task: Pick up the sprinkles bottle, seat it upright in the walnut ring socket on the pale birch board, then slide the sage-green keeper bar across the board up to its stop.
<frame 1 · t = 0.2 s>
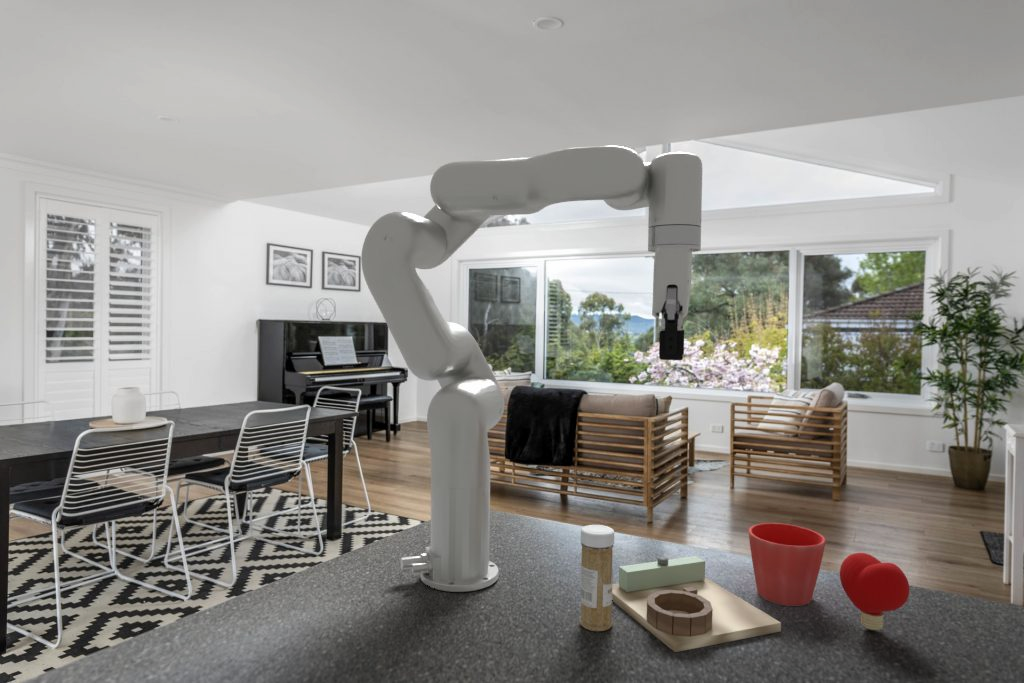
hand: (672, 357, 99), 37 cm above the counter, tool pointing down, fingers open, 9 cm apart
board: (686, 611, 97), on the counter
keeper bar: (662, 570, 104), point 3 cm above the counter, slide at 0.0 cm
flower pot: (784, 597, 103), on the counter
red heart figurine: (871, 632, 92), on the counter
sprinkles bottle: (595, 626, 92), on the counter
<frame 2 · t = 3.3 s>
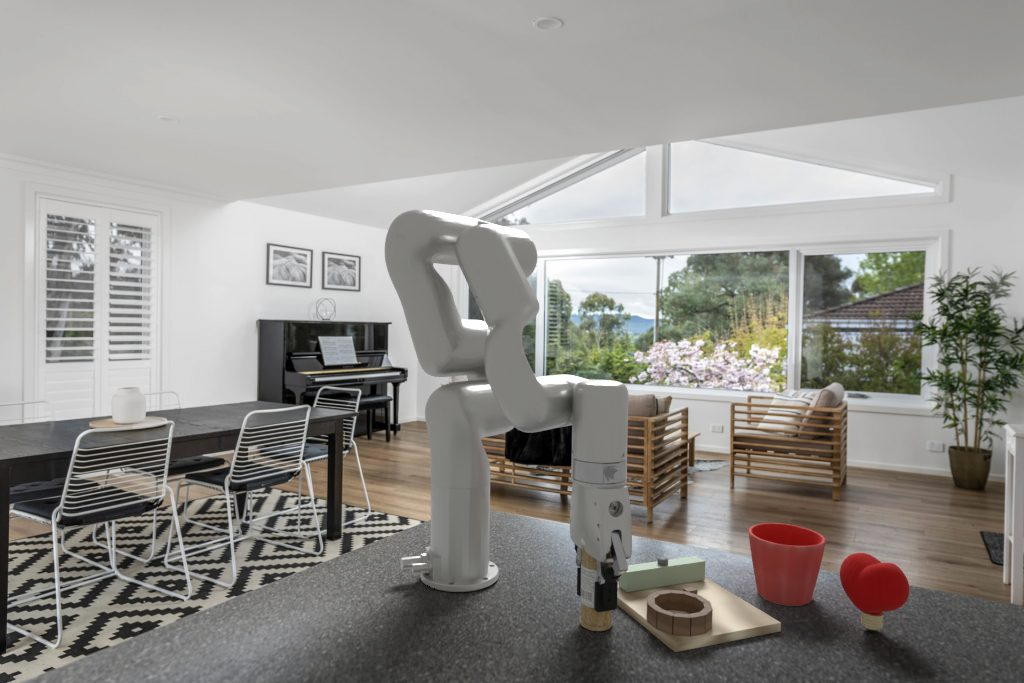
hand: (596, 600, 92), 3 cm above the counter, tool pointing down, fingers closed on sprinkles bottle, 4 cm apart
sprinkles bottle: (595, 626, 92), on the counter, touching gripper
everything else where it was.
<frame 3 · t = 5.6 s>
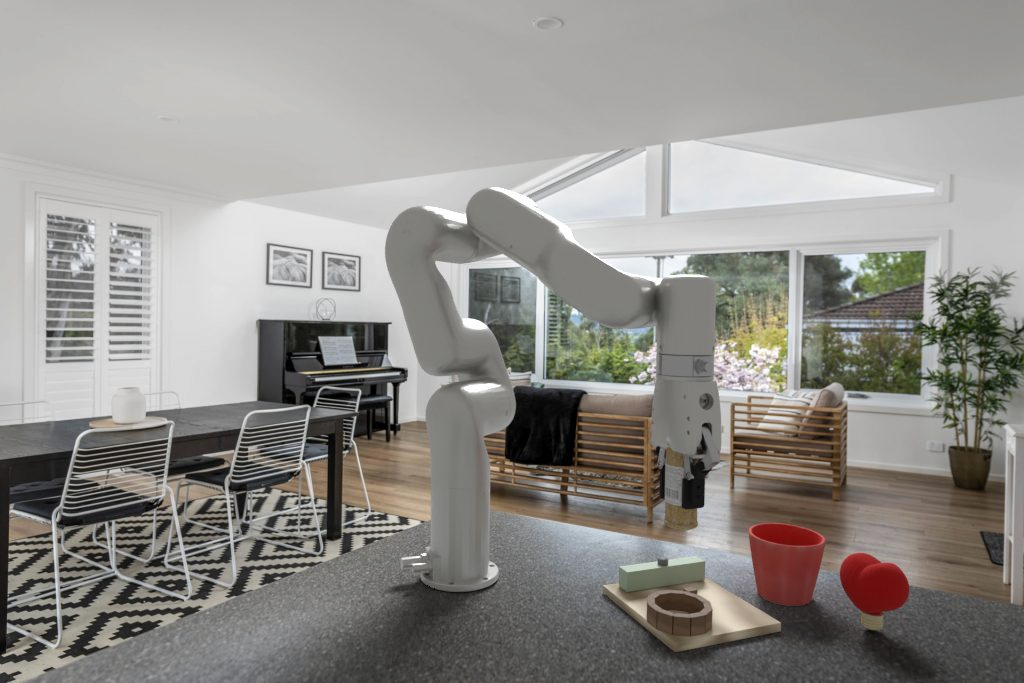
hand: (681, 501, 90), 18 cm above the counter, tool pointing down, fingers closed on sprinkles bottle, 4 cm apart
sprinkles bottle: (680, 527, 91), point 14 cm above the counter, touching gripper
everything else where it was.
when the fingers open (5 cm above the counter, at t = 8.1 s): sprinkles bottle stays where it is, resting on board.
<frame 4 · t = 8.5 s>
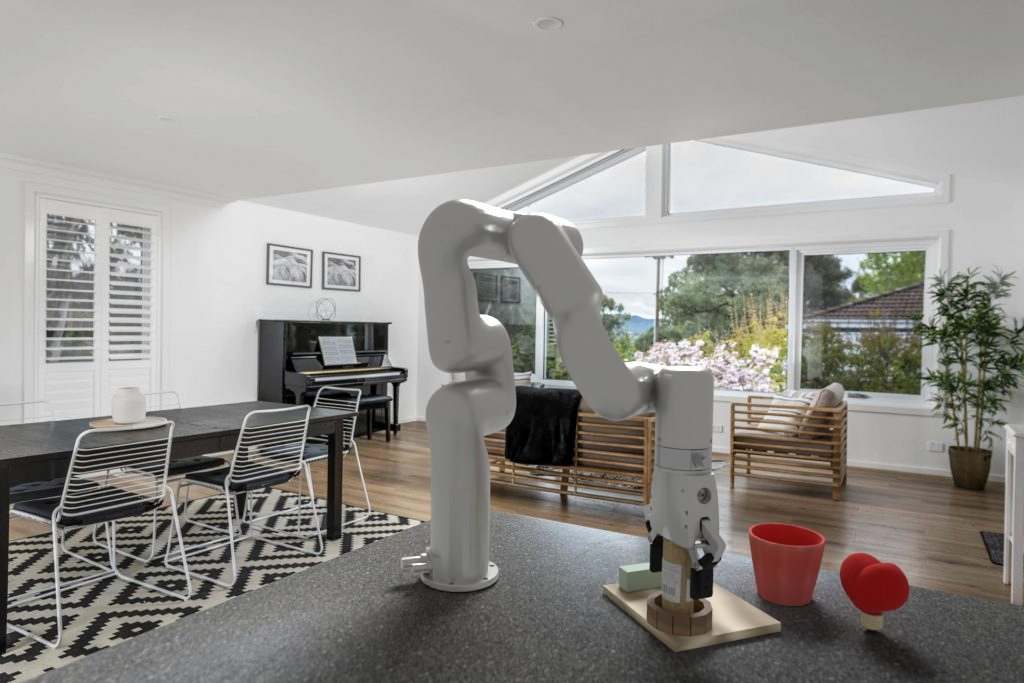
hand: (679, 583, 91), 6 cm above the counter, tool pointing down, fingers open, 9 cm apart
sprinkles bottle: (676, 621, 91), point 1 cm above the counter, touching board
everything else where it was.
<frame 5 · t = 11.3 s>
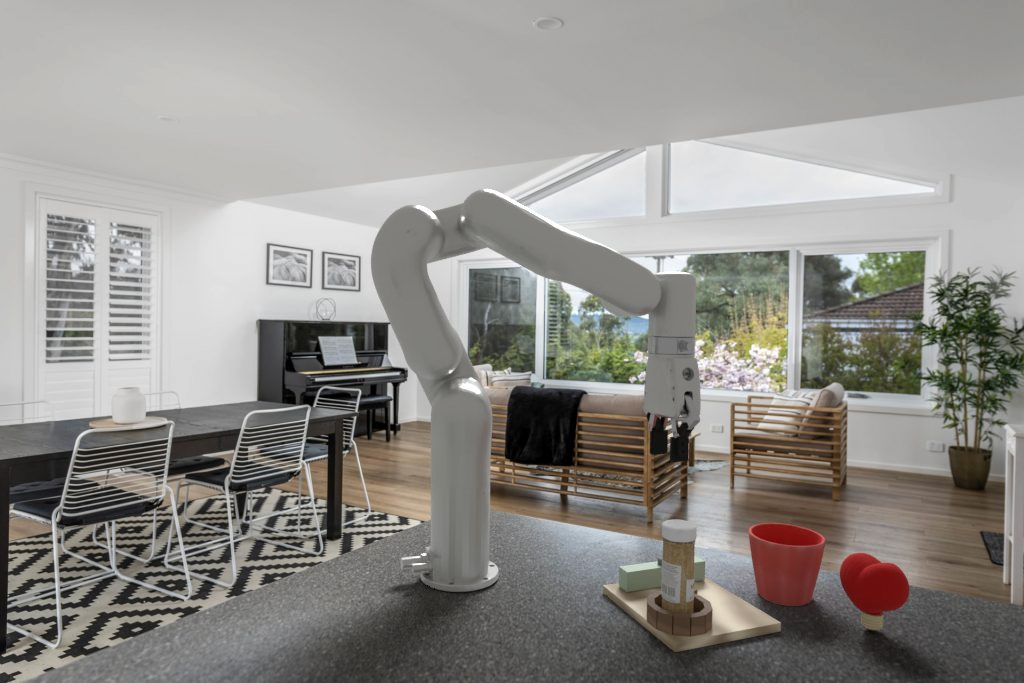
hand: (668, 456, 111), 19 cm above the counter, tool pointing down, fingers open, 5 cm apart
nothing on the counter moved.
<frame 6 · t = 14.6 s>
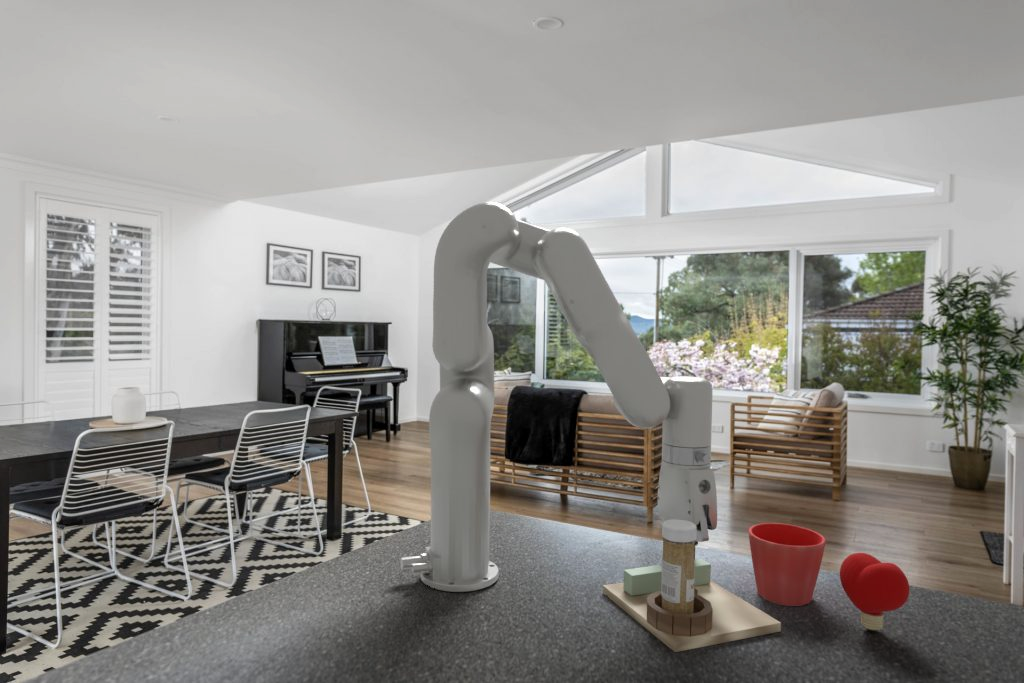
hand: (683, 568, 107), 2 cm above the counter, tool pointing down, fingers closed
keeper bar: (667, 574, 102), point 3 cm above the counter, slide at 1.4 cm, touching gripper
everything else where it was.
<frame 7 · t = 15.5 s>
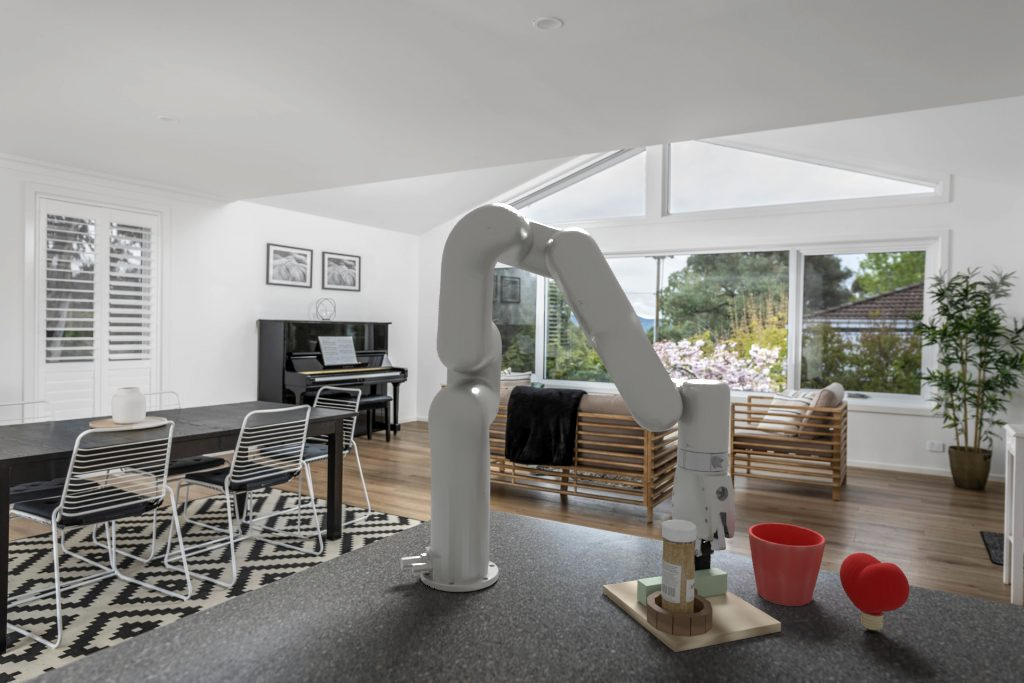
hand: (698, 577, 103), 2 cm above the counter, tool pointing down, fingers closed
keeper bar: (682, 583, 99), point 3 cm above the counter, slide at 5.3 cm, touching gripper
everything else where it was.
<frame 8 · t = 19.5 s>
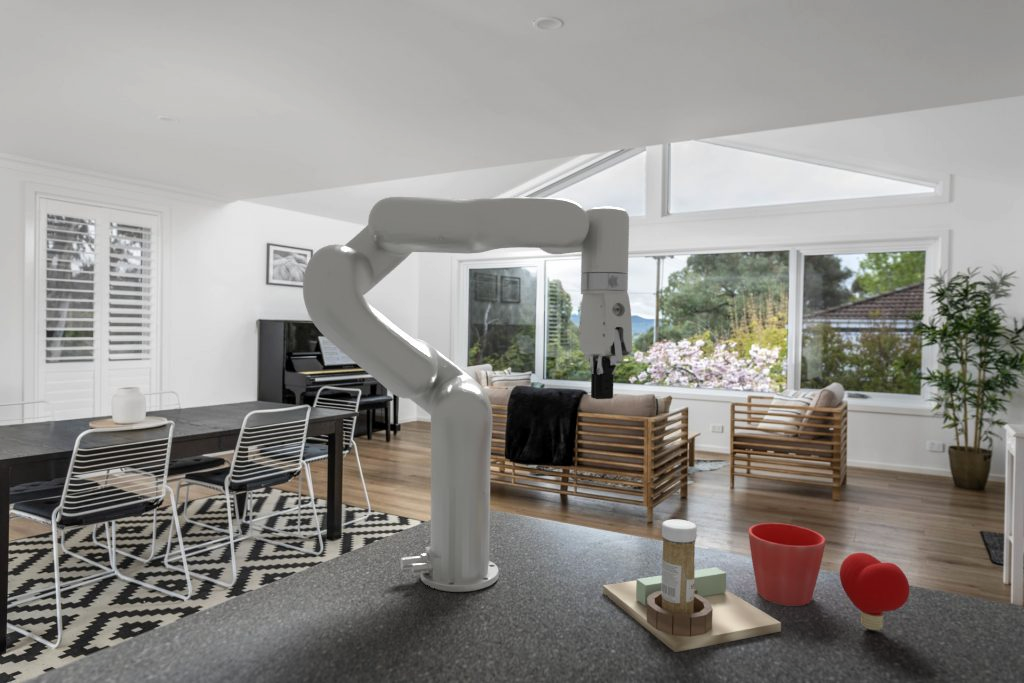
hand: (601, 398, 109), 29 cm above the counter, tool pointing down, fingers closed
keeper bar: (681, 583, 99), point 3 cm above the counter, slide at 5.0 cm
everything else where it was.
at the end: sprinkles bottle 0.2 cm from the target spot, point 1.0 cm above the counter; sprinkles bottle tilted 0°; keeper bar slide at 5.0 cm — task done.
